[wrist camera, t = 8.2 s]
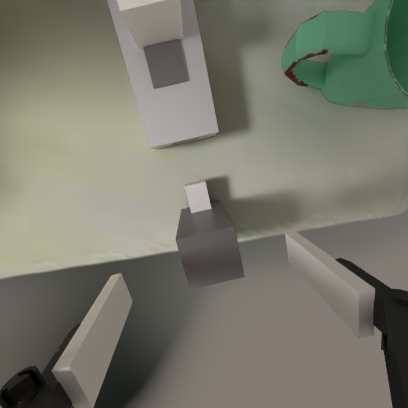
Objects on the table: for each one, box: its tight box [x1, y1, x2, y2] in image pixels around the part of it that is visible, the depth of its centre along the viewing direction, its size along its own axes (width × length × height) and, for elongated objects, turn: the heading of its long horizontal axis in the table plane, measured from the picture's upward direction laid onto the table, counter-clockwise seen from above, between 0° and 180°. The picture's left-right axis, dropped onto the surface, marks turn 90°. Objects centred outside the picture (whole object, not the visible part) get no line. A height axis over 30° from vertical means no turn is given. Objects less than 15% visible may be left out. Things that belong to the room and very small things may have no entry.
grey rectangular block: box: [176, 180, 244, 289], centre depth 20 cm, size 5×8×9 cm, turn 13°
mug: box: [282, 0, 408, 109], centre depth 17 cm, size 15×10×10 cm
